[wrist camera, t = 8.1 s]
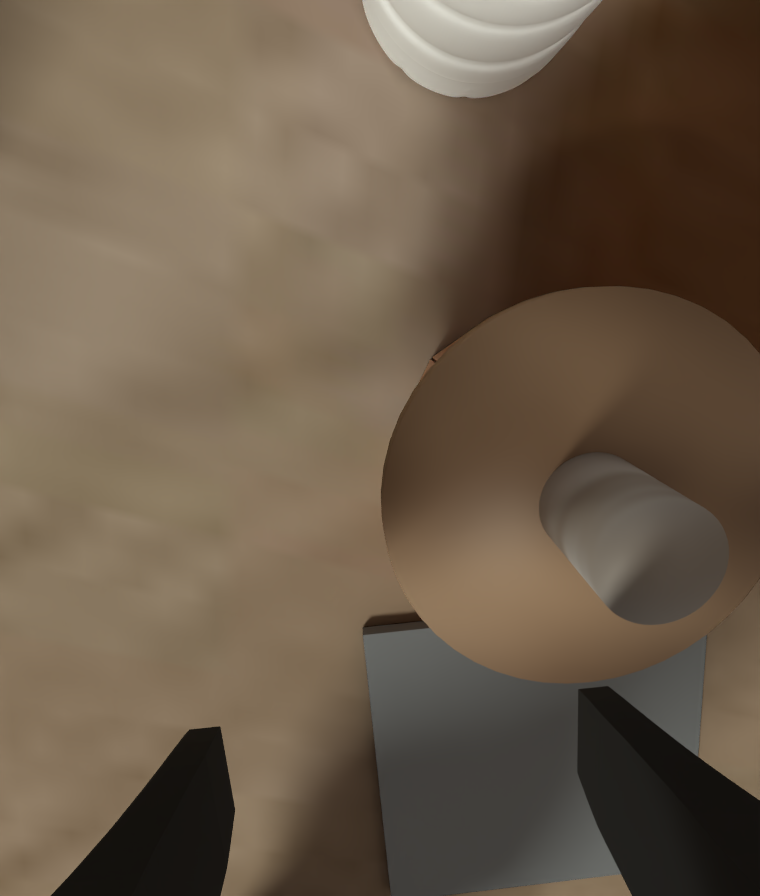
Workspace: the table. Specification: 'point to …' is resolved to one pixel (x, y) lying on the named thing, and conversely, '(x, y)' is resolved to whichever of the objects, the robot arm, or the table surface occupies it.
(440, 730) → the mat
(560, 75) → the table surface
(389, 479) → the lid
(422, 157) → the table surface
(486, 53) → the water bottle
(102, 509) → the table surface
